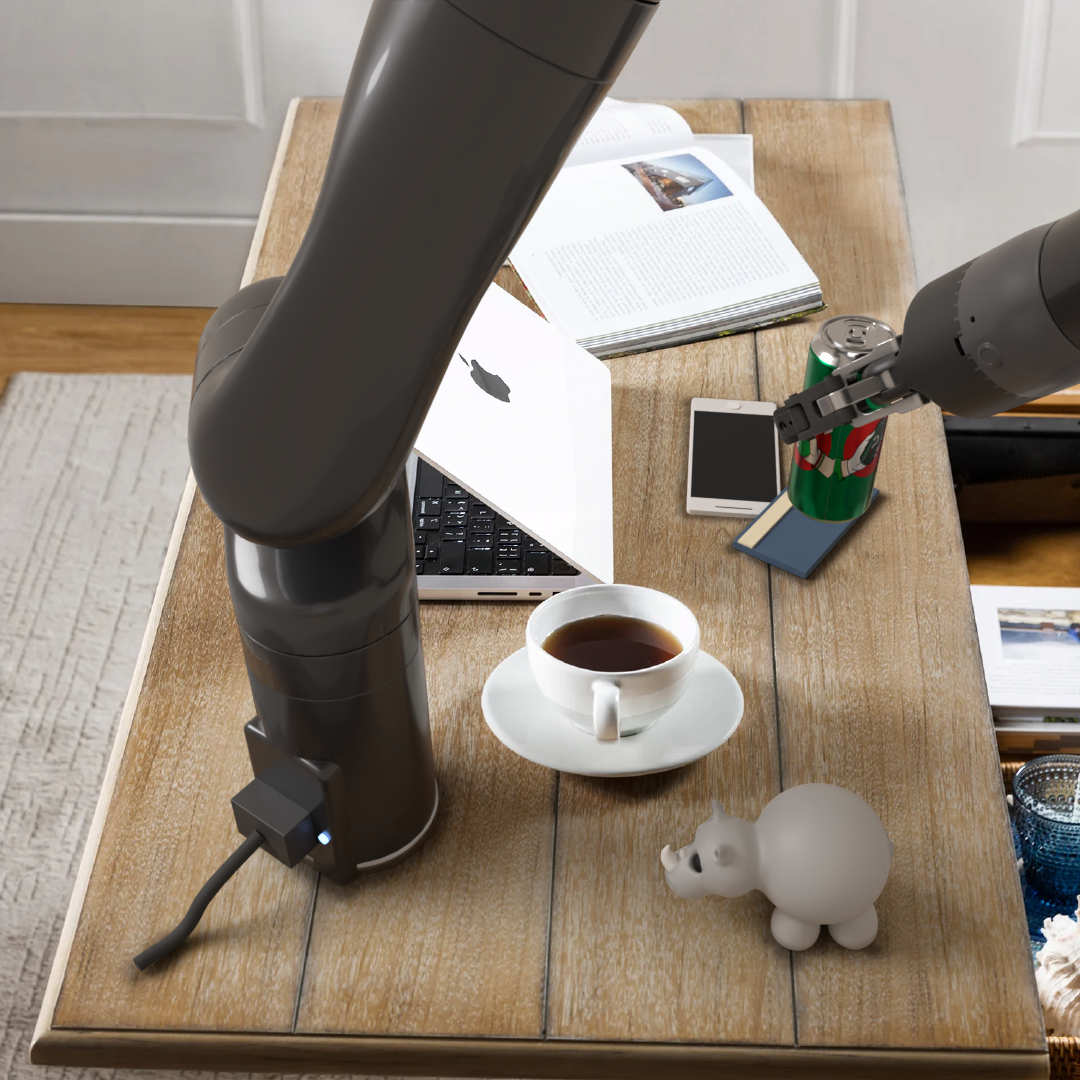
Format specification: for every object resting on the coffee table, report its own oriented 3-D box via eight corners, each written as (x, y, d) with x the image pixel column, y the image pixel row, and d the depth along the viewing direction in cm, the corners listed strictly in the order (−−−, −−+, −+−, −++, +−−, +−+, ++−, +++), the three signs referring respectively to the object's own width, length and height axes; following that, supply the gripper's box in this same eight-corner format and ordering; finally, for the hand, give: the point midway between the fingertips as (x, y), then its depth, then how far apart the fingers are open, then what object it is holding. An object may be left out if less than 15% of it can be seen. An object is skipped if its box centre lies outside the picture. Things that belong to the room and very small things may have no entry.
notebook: (805, 579, 91) (806, 570, 90) (731, 547, 94) (733, 538, 93) (878, 496, 98) (880, 487, 98) (808, 469, 101) (810, 460, 100)
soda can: (872, 486, 80) (907, 317, 72) (865, 535, 76) (901, 362, 69) (791, 473, 81) (817, 305, 74) (780, 520, 77) (807, 348, 70)
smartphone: (775, 410, 108) (776, 401, 108) (780, 524, 96) (781, 515, 96) (690, 405, 109) (691, 396, 108) (685, 518, 97) (686, 508, 96)
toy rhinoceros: (652, 851, 73) (660, 753, 68) (863, 854, 73) (888, 755, 67) (659, 964, 67) (668, 866, 62) (887, 967, 67) (916, 869, 62)
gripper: (1092, 212, 64) (880, 322, 79) (885, 287, 58) (699, 390, 73) (1151, 350, 64) (927, 433, 79) (949, 439, 58) (750, 511, 73)
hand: (818, 412), depth 76 cm, fingers closed on soda can, 5 cm apart
